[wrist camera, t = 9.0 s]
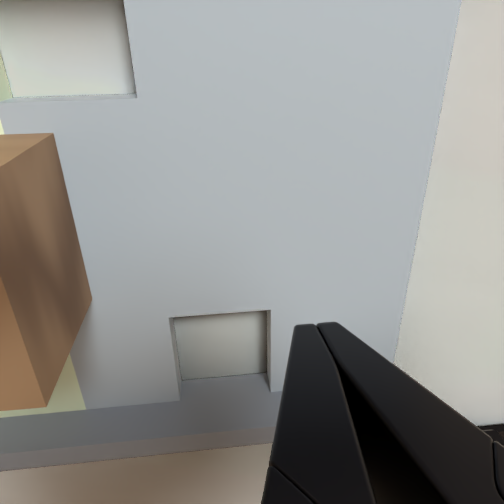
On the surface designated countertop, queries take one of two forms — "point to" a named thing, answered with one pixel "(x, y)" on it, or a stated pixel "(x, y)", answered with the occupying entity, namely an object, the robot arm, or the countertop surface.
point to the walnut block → (36, 271)
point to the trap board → (233, 207)
